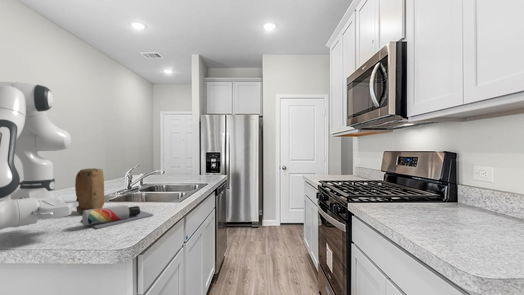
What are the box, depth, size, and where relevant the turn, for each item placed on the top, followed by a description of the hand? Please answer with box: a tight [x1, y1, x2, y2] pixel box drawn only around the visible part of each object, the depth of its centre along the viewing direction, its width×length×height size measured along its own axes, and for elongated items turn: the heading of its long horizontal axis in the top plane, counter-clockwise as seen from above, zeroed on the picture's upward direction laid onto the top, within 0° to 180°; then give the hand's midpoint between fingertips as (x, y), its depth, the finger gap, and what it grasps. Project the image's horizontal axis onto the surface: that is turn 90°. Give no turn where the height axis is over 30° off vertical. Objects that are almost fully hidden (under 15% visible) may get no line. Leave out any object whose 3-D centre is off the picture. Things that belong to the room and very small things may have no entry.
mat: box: [80, 210, 154, 230], centre depth 108 cm, size 22×16×1 cm
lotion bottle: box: [81, 204, 141, 226], centre depth 104 cm, size 6×6×20 cm
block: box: [74, 168, 105, 214], centre depth 118 cm, size 11×8×20 cm
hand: (77, 203), depth 96 cm, fingers closed
